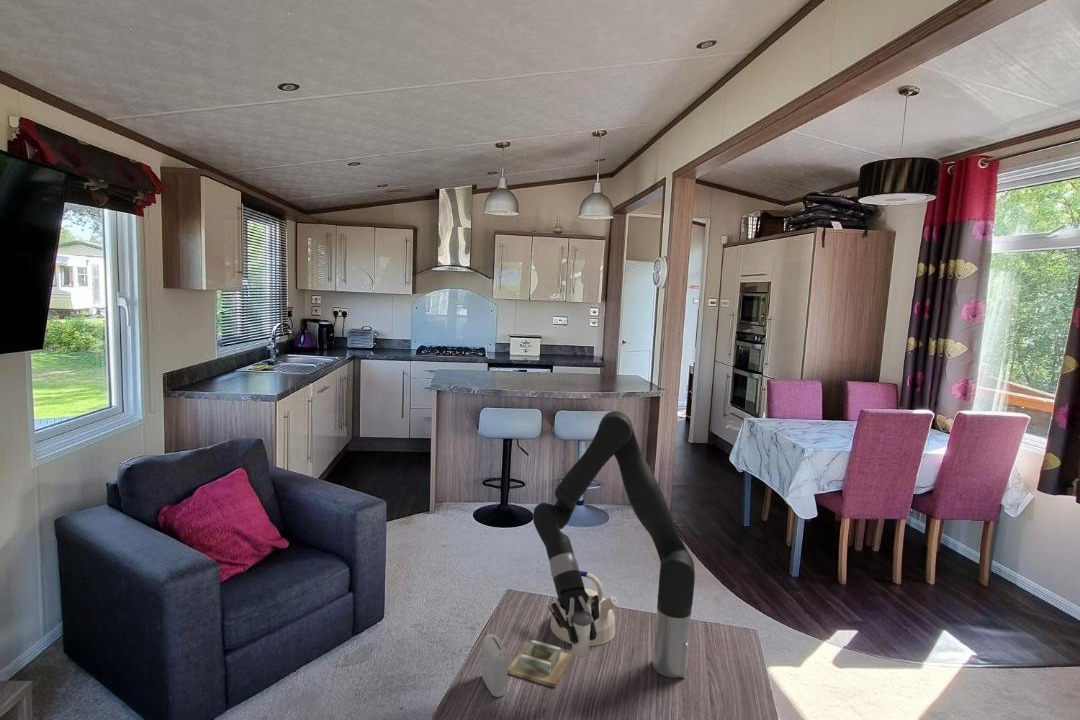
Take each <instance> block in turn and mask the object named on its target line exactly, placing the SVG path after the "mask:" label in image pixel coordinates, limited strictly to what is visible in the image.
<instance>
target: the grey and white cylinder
mask: <svg viewBox="0 0 1080 720" xmlns="http://www.w3.org/2000/svg"><path fill="white" fill-rule="evenodd" d="M590 625H591V614H590V613H589V612H587V611H576V612H575V613H574V617H573V627H575V630H576V634H577V637H578V643H577V644H573V642H572V644H571V655H572V656H575V657H577V658H582V659H583V658H586V657H588V656H589V654H590V646H589V643H590Z"/></svg>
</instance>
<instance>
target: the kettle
mask: <svg viewBox="0 0 1080 720" xmlns="http://www.w3.org/2000/svg"><path fill="white" fill-rule="evenodd" d="M580 573H581V577H582V578H583V577H584V578H587V579H589V580H591V581H592V583H594V584H595V586H596V590H597V591H595V589H591V588H587V587H584V588H585V591H586V593H587V594H588V596H595V595H597V596H598V599H599V618H598V619H597V620H596V621H594V626H595V630H596V633H597V636H596V639H595V640H592V641H591V640H590V643H589V647H596V646H601V645H603V644H606V643H607V642H610V641H611V640H612V639H613V638H614V636H615V633H616V623H615V621H616V619H615V614H614V611H613V609H614V608H616V607H617V606H618V600H617V598H616V597H615V596H614V595H610V596H609V597H608V598H605V597H604V587H603V584H602V583H601V581H600V579H599V578H597V576H596V575H594V574H593V573H590V572H588V571H582V570H580ZM586 605H587V607H588V608H589V610H590V614H591V605H590V604H589V601H587V604H586ZM560 612H561V613H562V615H563V617H564V619H565V610H564V609H563V608H562V607H561V606H560ZM565 621H566V620H565ZM549 627H550V630H551V632H552V633H553V634H554V635H555V636H556V637H557V639H560V640H561V641H563V642H565V643H568V644H570V645H572V642H571V641H570V638H569V635H568V631H567V629H566V628H563V627H562V628H560V627H559V626H558V624H557V622H556V620H555V618H554V616H553V615H552V614H551V619H550V625H549Z"/></svg>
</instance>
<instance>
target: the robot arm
mask: <svg viewBox="0 0 1080 720" xmlns="http://www.w3.org/2000/svg"><path fill="white" fill-rule="evenodd" d="M612 457H614V458H615V460H616V462H617V464H618V468H619V472H620V477H621V479H622V484H623V486H624V490H625V493H626V496H627V499H628V501H629V503H630V505H631V508H632V510H633V512H634V514H635V516H636V518H637V520H638V521H639V522H640V523H641V525H642V526H643V528H644V529H645V530H646V532H647V533H648V534H649V536H650V538H651V539H652V541H653V542H652V543H653V544H654V546H655V549H656V552H657V555H658V558H659V562H660V563H659V564H660V565H659V576H658V578H659V580H658V590H657V591H658V592H657V603H656V604H657V605H656V615H655V616H656V617H655V630H654V643H653V656H652V667H653V670H655V672H657V673H658V674H659V675H661V676H664V677H666V678H670V679H671V678H673V679H677V678H681V679H682V678H683V679H685V678H686V674H687V669H688V664H689V653H690V641H691V639H690V638H691V634H690V630H691V617H692V616H691V615H692V608H693V603H694V602H693V601H694V591H695V590H694V589H695V581H696V579H695V577H696V575H695V574H696V572H695V563H694V559H693V557H692V555H691V553H690V552H689V551H688V549H687V547H686V546H685V544H684V541H683V540H682V538H681V536H680V534H679V533H678V531H677V529H676V526H675V524H674V520H673V516H672V514H671V512H670V509H669V506H668V504H667V501H666V498H665V496H664V494H663V492H662V489H661V487H660V485H659V483H658V480H657V479H656V477H655V475H654V473H653V471H652V470H651V468H650V465H649V463H648V462H647V460H646V459H645V457H644V454H642V451H641V448H640V446H639V443H638V440H637V436H636V433H635V430H634V427H633V423H632V420H631V419H630V417H629V416H628V415H626V414H625V413H623V412H621V411H618V410H614V411H613V410H612V411H608V413H606V414H604V416H603V417H602V418H601V420H600V422H599V424H598V429H597V430H596V433H595V434H594V437H593V438H592V441H591V442H590V444H589V446H588V447H587V449H586V450H585V452H584V453H583V455H581V457H580V458H579V459H578V460H577V461H576V462H575V464H573V466H572V467H571V468H570V469H569V470H568V472H567V473H566V474H565V475H564V477H563V478H562V479H561V481H560V482H559V484H558V485H557V487H556V488H555V490H554V496H555V498H556V499H557V501H556V502H555V503H554V504H552V503H549V502H548V503H547V502H542V503H538V504H537V505H536V506H535V507H534V510H533V513H532V519H533V520H532V521H533V524H534V527H535V530H536V532H537V533H538V535H539V537H540V539H541V541H542V543H543V545H544V546H545V550H546V554H547V557H548V562H549V569H550V572H551V578H552V580H553V584H554V588H555V591H556V595H557V601H555V602H553V603H551V604H550V605H549V607H548V608H549V611H550V613H551V616H552V615H553V616H554V618H555V620H556V622H557V624H558V626H559V627H560V628H562V627H563V628H566V629H567V631H568V635H569V638H570V641H571V642H573V644H577V643H578V637H577V634H576V630H575V627H573V617H574V613H575V612H576V611H587V612H589V613H590V610H589V608H588V607H587V605H586V604H587V601H589V604H590V605H591V625H590V640H591V641H592V640H595V639H596V636H597V633H596V630H595V626H594V621H596V620H597V619H598V618H599V599H598V596H597V595H595V596H588V594H587V593H586V591H585V588H586V587H585V583H584V580H583V576H581V573H580V571H581V570H580V568H579V564H578V561H577V558H576V556H575V554H574V553H575V552H574V550H573V547H572V543H571V539H570V538H569V536H568V535H567V534H566V533H564V532H562V531H561V530H562V529H564V527H566V525H568V524H569V521H570V519H571V518H572V517H571V516H572V515H573V513H574V510H575V507H576V505H577V503H578V501H579V500H581V497H582V496H583V495H584V494H585V492H586V491H587V490H588V488H589V487H590V485H591V483H592V482H593V481H594V479H595V478H596V477H597V475H598V474H599V472H600V471H601V469H602V468H603V467H604V466H605V465H606V463H607V462H608V461H609V460H610V459H611V458H612ZM560 606H561V607H562V608H563V609H564V610H565V619H564V617H563V615H562V613H561V612H560ZM565 620H566V621H565Z"/></svg>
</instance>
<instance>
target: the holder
mask: <svg viewBox="0 0 1080 720" xmlns="http://www.w3.org/2000/svg"><path fill="white" fill-rule="evenodd" d="M572 660H573V654H570V653H567V652H562V648H561V647H559V646H557V645H552V644H549V643H546V642H542V641H538V640H536V639H535V640H534V639H532V640H531V641H530V642H525V644H524V645H523V647H522V648H521V650H520V651H519V653H518V654H517V655H516V656H515V658H514V659H513V660H512V661H511V663H510V664H509V665H508V674H507V675H513V676H516V677H518V678H521V679H525V680H529V681H532V682H536V683H537V684H540V685H541V684H542V685H545V686H548V687H551V688H554V689H555V688H557V686H558V684H559V682H560V680H561V679H562V677H563V675H564V674H565V672H566V670H567V669H568V666H569V665H570V663H572V662H571V661H572Z"/></svg>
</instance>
